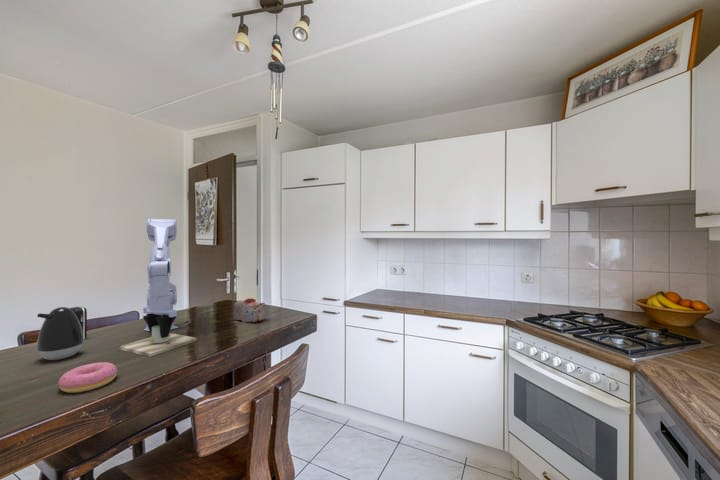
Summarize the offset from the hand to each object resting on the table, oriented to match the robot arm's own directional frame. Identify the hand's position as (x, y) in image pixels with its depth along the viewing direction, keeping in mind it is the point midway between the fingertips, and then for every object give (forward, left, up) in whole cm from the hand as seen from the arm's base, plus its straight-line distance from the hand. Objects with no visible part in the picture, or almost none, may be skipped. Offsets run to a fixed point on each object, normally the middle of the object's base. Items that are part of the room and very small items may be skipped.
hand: (159, 336), depth 103 cm
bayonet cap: (0, 0, -2) cm, 2 cm away
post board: (0, 0, -3) cm, 3 cm away
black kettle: (-17, -19, -3) cm, 26 cm away
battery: (-34, -8, -3) cm, 35 cm away
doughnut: (+12, -25, -3) cm, 28 cm away
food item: (+5, +36, -3) cm, 37 cm away
